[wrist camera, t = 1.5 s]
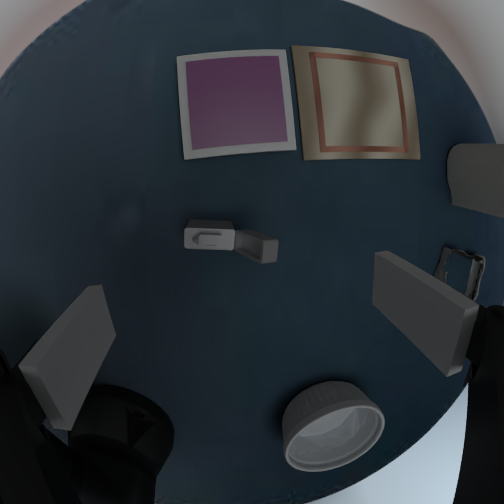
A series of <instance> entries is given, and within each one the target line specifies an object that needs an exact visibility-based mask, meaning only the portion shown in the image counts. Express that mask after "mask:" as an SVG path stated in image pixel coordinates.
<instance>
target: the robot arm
mask: <svg viewBox="0 0 504 504" xmlns="http://www.w3.org/2000/svg"><path fill="white" fill-rule="evenodd" d="M372 304H373V305H374V306H375V307H376V308H377V309H379V310H380V311H381V312H382V313H383V314H384V315H385V316H386V317H387V318H388V319H389V320H390V321H391V322H392V323H393V324H394V325H395V326H396V327H397V328H398V329H399V330H400V331H401V332H402V333H403V334H404V335H406V336H407V337H408V338H409V339H410V340H411V341H412V342H413V343H414V344H415V345H416V346H417V347H418V348H419V349H420V350H421V351H422V352H423V353H424V354H425V355H426V356H427V357H428V358H429V359H430V360H431V361H432V362H433V363H434V364H435V365H436V366H437V367H438V368H439V369H440V370H441V371H442V373H443V374H444V375H445V376H446V377H448V376H450V375H453V374H455V373H457V372H459V371H461V370H462V367H463V364H464V361H465V358H466V357H467V358H468V359H469V360H470V361H471V364H470V367H469V370H468V373H467V376H466V378H465V381H464V384H463V386H466V383H467V382H468V406H467V420H466V432H465V440H464V448H463V455H462V461H461V467H460V473H459V479H458V483H457V488H456V493H455V497H454V501H453V504H504V306H500V305H492V306H489V307H488V308H485V307H483V306H482V305H480V304H479V303H477V302H476V301H474V300H472V299H471V298H469V297H467V296H466V295H464V294H463V293H462V294H461V292H459V291H458V290H456V289H454V288H453V287H450V286H448V285H446V284H445V283H443V282H441V281H440V280H438V279H436V278H435V277H433V276H431V275H430V274H428V273H426V272H424V271H423V270H421V269H419V268H418V267H416V266H414V265H412V264H411V263H409V262H407V261H405V260H403V259H402V258H400V257H398V256H396V255H395V254H393V253H391V252H389V251H383V252H375V263H374V283H373V298H372ZM115 337H116V333H115V330H114V326H113V323H112V320H111V316H110V313H109V309H108V306H107V302H106V299H105V295H104V291H103V287H102V285H95V286H88V287H87V288H86V289H85V290H84V291H83V292H82V293H81V294H80V295H79V296H78V297H77V298H76V300H75V301H74V302H73V303H72V304H71V305H70V306H69V307H68V308H67V309H66V310H65V311H64V313H63V314H62V315H61V316H60V317H59V318H58V319H57V320H56V321H55V322H54V324H53V325H52V326H51V327H50V328H49V329H48V330H47V332H46V333H45V334H44V335H43V336H42V337H41V338H39V339H38V340H37V341H35V343H34V344H33V345H32V346H31V347H30V349H29V350H28V351H27V352H26V353H25V355H24V356H23V357H22V358H21V359H20V360H19V362H18V363H17V364H16V365H15V367H14V368H13V369H11V367H10V365H9V363H8V361H7V359H6V357H5V355H4V353H3V351H2V350H0V504H154V498H155V485H156V477H157V475H158V474H159V472H160V470H161V469H162V467H163V465H164V463H165V462H166V460H167V458H168V456H169V455H170V453H171V451H172V448H173V442H174V428H173V425H172V422H171V421H170V419H169V417H168V416H167V415H166V414H165V413H164V411H163V410H162V409H160V408H159V407H158V406H157V405H156V404H154V403H153V402H151V401H150V400H148V399H147V398H145V397H143V396H141V395H139V394H137V393H135V392H132V391H129V390H126V389H123V388H119V387H114V386H105V385H98V386H91V385H92V383H93V381H94V379H95V377H96V375H97V373H98V371H99V369H100V366H101V364H102V362H103V360H104V358H105V356H106V355H107V353H108V351H109V349H110V347H111V345H112V343H113V341H114V339H115ZM46 417H47V418H48V420H49V421H50V423H51V425H52V426H53V428H56V429H62V430H68V446H67V445H66V444H65V443H63V442H62V441H61V440H60V439H59V438H57V437H56V436H55V435H54V434H53V433H51V432H50V431H49V430H48V429H47V428H46V427H45V426H44V425H43V422H44V420H45V418H46Z"/></svg>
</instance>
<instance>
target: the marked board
mask: <svg viewBox="0 0 504 504" xmlns="http://www.w3.org/2000/svg"><path fill="white" fill-rule="evenodd" d="M291 53H292V61H293V69H294V77H295V85H296V94H297V103H298V112H299V122H300V133H301V144H302V156H303V160H322V159H420V147H419V134H418V123H417V114H416V106H415V98H414V91H413V84H412V78H411V72H410V67H409V62H408V60H407V59H402V58H397V57H392V56H387V55H381V54H375V53H369V52H362V51H355V50H346V49H337V48H326V47H312V46H291Z"/></svg>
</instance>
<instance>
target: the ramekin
mask: <svg viewBox="0 0 504 504" xmlns="http://www.w3.org/2000/svg"><path fill="white" fill-rule="evenodd" d="M384 424H385V420H384V416H383V414H382V412H381V410H380V408H379V407H378V406H377V405H376V404H374V403H373V402H371V401H370V400H369V398H368V397H367V396H366V395H365V394H364V393H363V392H362V391H361V390H360V389H359V388H358V387H356V386H355V385H353V384H351V383H347V382H341V381H328V382H323V383H319V384H316V385H313V386H311V387H309V388H307V389H305V390H304V391H302V392H301V393H299V394H298V395H297V396H296V397H295V398H294V399H293V400H292V401H291V402H290V404H289V405H288V406H287V408H286V410H285V412H284V414H283V419H282V430H283V439H284V445H283V451H284V455H285V458H286V460H287V462H288V463H289V464H290V465H291V466H292V467H294V468H296V469H299V470H303V471H312V472H314V471H325V470H330V469H334V468H337V467H340V466H343V465H345V464H347V463H349V462H351V461H353V460H355V459H357V458H358V457H360V456H361V455H363V454H364V453H365V452H367V451H368V450H369V449H370V448H371V447H372V446H373V445H374V444H375V443H376V441H377V440H378V439H379V437H380V436H381V434H382V431H383V429H384Z"/></svg>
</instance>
